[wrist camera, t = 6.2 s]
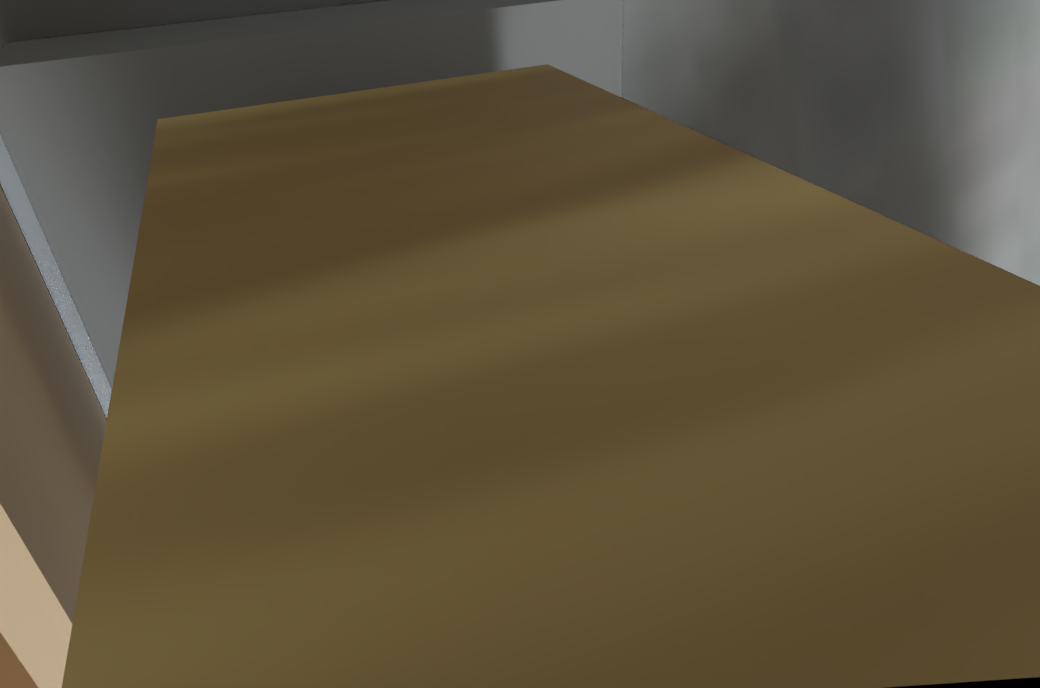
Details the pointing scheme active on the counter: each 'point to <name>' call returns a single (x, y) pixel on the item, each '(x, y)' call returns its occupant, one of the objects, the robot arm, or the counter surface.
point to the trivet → (239, 101)
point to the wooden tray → (40, 470)
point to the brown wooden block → (550, 414)
